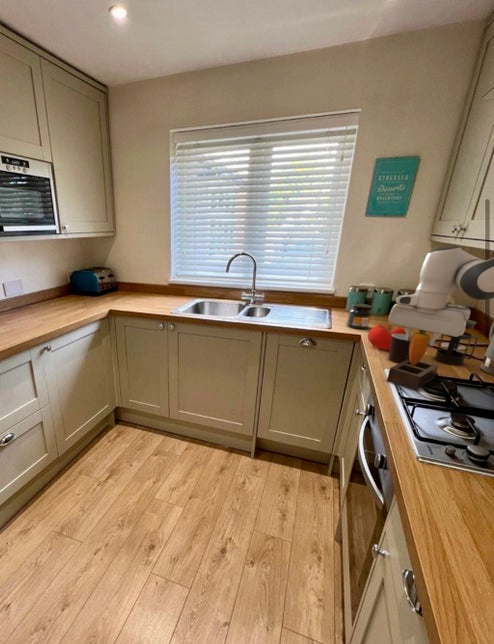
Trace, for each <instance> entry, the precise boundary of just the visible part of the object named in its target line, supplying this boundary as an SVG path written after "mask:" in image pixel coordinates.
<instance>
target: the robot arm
mask: <svg viewBox="0 0 494 644" xmlns="http://www.w3.org/2000/svg"><path fill="white" fill-rule="evenodd" d="M454 290H459V291H461V292H462V293H464V294H465V295H467V296H468V297H470V298H472V299H475V300H479V301H486V300H492V299H494V257H492V258H489V259H487V260H486V259H482V258H479V257H477V256H475V255H473V254H470V253H469V252H466V250H463V249H462V247H460V246H457V245H451V246H442V247H437V248H433V249H431V250H430V251H428V252H427V254H426V255H425V258H424V260H423V263H422V266H421V269H420V273H419V283H418V285H417V287H416V289H415V292H414V293H408V294H404V295H403V294H402V295H399V296H396V298H395V302H396V303H395V304H394V305H393V306H392V307H391V310H390V312H389V315H388V319H387V320H388V323H389V325H393V326H395V325H396V326H398V327H404V331H405V332H406V335H407V338H406V340H407V341H411V337H412V335H413V334H412V332H411V331H412V329H414V330H418V329H420V330H424V331H426V332H429V333H433V334H432V335H433V337H432V339H431V338H430V339H429V340H428V342H427V345H428V347H433V346H434V345H435V342H436V340H438V339H439V338H441V337H442V334H444V335H443V336H445V335H449V336H454V337H458V336H460V335H462V334H463V333H464V332H466V329H465V326H466V321H467V320H470V316H471V312H472V311H471V309H470V307H468V308H467V307H466V306H464V305H465V304H464V305H462V304H455V303H449V301H450V298H451V294H452V292H453V291H454ZM465 309H467V310H465ZM462 336H463V335H462Z"/></svg>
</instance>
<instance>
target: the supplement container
mask: <svg viewBox="0 0 494 644" xmlns="http://www.w3.org/2000/svg"><path fill="white" fill-rule="evenodd" d="M372 307H373V306H372V305H370V304H366V303H352V304H351V305H350V309H349V310H348V316H347V317H348V318H347V321H346V326H347V327H348V328H350V329H355V330H367V329H368V328H369V324H370V319H371V315H372V311H371V310H372Z"/></svg>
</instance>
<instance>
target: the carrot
mask: <svg viewBox="0 0 494 644" xmlns="http://www.w3.org/2000/svg"><path fill="white" fill-rule="evenodd" d="M417 330H418V332H414V333H413V334H411V335H412V337H411V342H410V347H409V358H410V362H411V365H412V366H415V365H416V364H417V363H418V362H419V361H422V359H423V358H424V355H425V354H426V351H427V350H428V347H429V345H427V342H428V340H429V339H431V336H430V335H429V334H428V333H427V331H424V330H420V329H417Z"/></svg>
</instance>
